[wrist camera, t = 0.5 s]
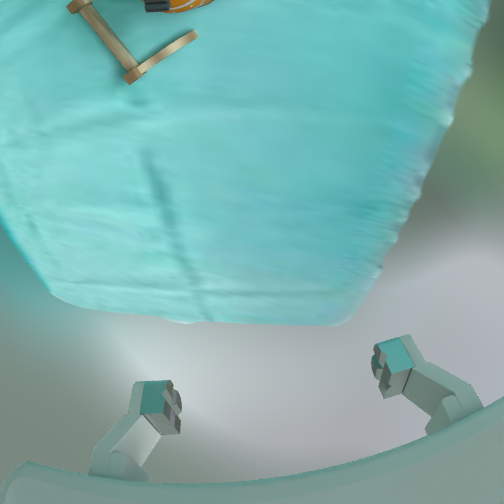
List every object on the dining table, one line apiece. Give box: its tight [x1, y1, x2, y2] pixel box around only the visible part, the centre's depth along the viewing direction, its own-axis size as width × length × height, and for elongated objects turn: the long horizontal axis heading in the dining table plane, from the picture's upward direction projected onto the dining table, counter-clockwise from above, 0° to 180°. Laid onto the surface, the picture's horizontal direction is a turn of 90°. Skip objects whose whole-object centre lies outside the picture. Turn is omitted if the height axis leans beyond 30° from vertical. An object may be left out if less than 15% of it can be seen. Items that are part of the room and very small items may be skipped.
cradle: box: [67, 0, 199, 85], centre depth 34 cm, size 13×20×4 cm, turn 29°
